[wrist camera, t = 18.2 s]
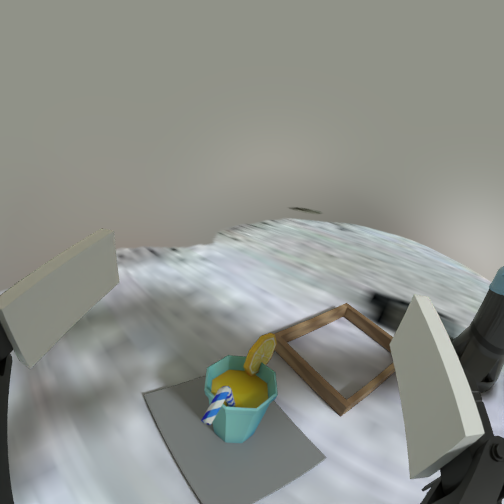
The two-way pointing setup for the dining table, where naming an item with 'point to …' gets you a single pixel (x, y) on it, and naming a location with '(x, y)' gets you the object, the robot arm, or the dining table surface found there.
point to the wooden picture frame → (316, 379)
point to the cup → (240, 391)
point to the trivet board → (230, 448)
